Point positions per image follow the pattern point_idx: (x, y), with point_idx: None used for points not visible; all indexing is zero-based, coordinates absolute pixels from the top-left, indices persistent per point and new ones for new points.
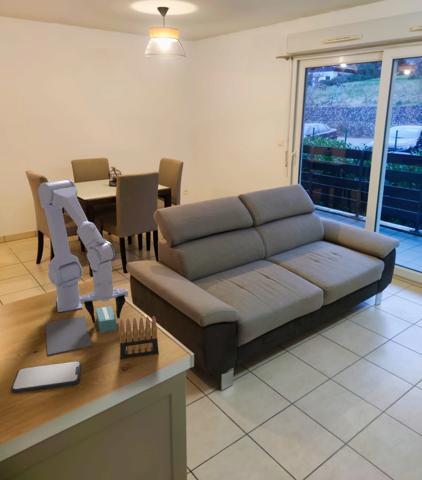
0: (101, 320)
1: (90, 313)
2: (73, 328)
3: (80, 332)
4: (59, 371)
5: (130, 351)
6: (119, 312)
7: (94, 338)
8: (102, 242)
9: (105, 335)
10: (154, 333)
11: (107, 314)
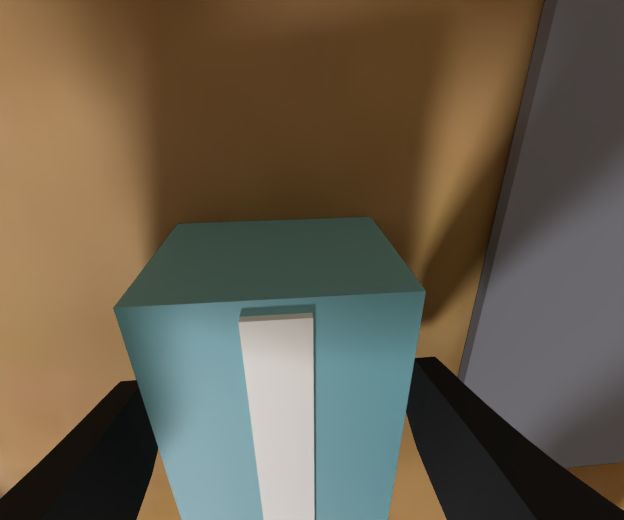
0: (381, 327)
1: (595, 499)
2: (587, 347)
3: (568, 265)
4: None
5: None
6: (56, 461)
7: (466, 107)
8: None
9: (326, 130)
10: None
11: (263, 449)
